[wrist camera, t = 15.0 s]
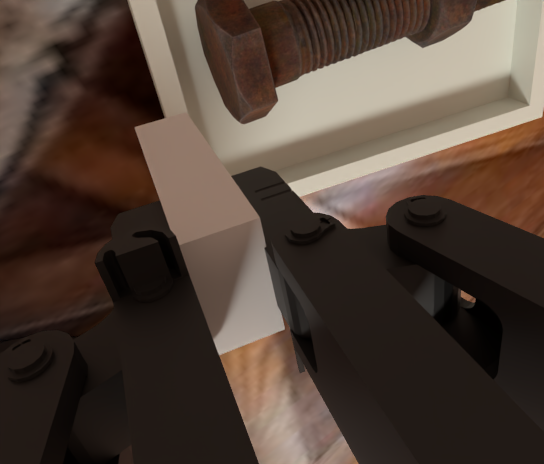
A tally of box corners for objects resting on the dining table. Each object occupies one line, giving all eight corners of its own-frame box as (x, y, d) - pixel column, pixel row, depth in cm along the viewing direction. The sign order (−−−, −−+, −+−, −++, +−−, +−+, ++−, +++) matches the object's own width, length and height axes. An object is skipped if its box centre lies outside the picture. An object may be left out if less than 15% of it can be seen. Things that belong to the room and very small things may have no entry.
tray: (511, 104, 31) (541, 116, 29) (192, 206, 28) (201, 228, 25) (546, -236, 22) (595, -254, 20) (80, -147, 19) (79, -156, 16)
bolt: (459, -27, 27) (202, 64, 24) (494, -129, 22) (182, -30, 20) (527, 42, 24) (248, 151, 22) (581, -57, 20) (237, 67, 17)
